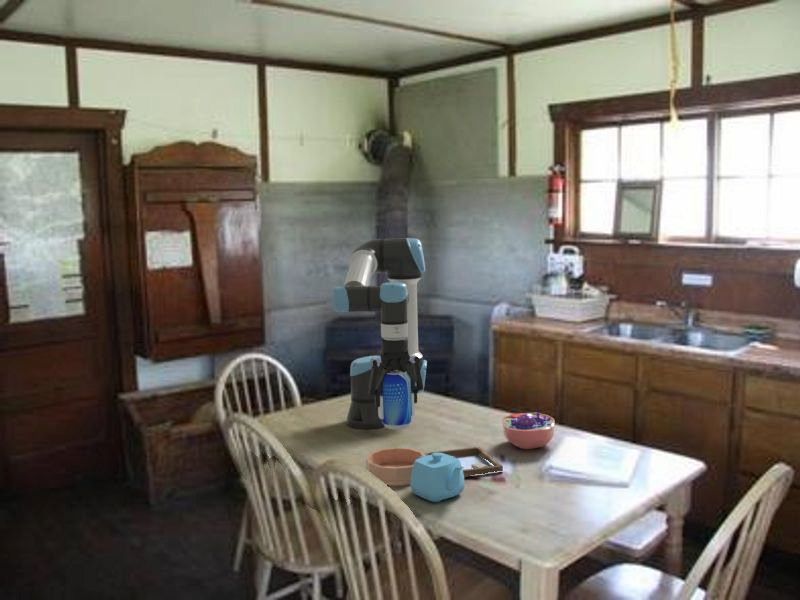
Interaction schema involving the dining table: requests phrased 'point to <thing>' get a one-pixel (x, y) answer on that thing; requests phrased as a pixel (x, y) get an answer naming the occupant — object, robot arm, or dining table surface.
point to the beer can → (396, 400)
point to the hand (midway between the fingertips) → (396, 416)
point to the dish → (393, 465)
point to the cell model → (528, 429)
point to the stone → (478, 465)
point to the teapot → (437, 477)
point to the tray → (473, 451)
